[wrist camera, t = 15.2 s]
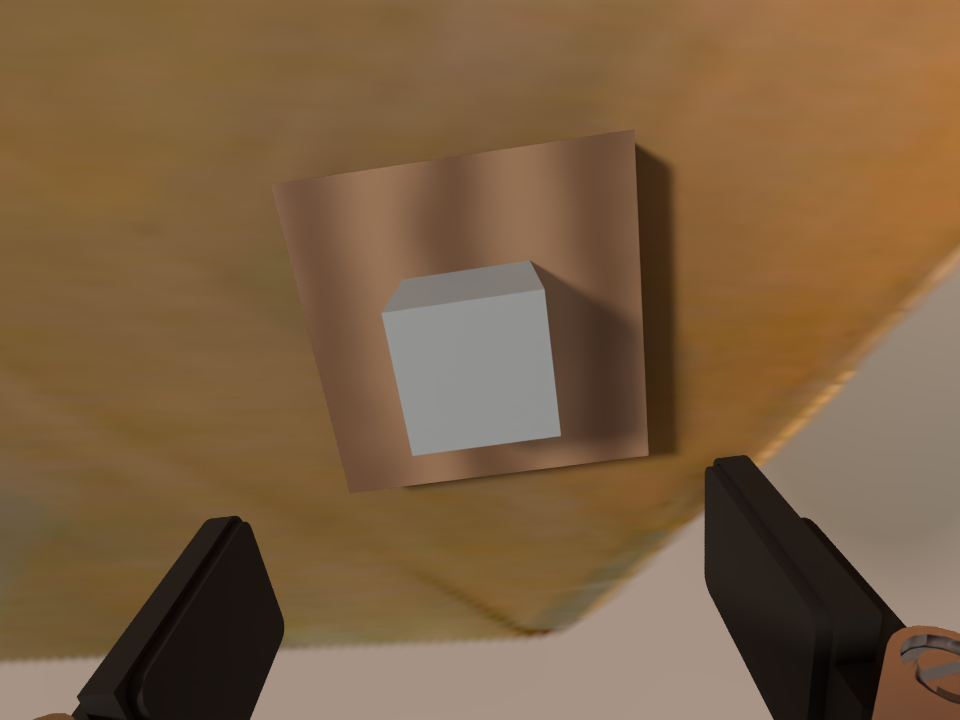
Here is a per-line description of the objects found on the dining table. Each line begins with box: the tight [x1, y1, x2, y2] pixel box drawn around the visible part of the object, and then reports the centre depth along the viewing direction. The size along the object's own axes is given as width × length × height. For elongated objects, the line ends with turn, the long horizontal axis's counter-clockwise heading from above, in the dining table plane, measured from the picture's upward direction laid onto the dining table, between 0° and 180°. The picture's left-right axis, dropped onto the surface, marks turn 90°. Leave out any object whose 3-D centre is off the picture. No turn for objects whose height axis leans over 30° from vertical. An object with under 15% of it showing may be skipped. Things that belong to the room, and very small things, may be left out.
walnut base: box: [271, 130, 649, 493], centre depth 28 cm, size 16×16×3 cm
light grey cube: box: [382, 261, 561, 456], centre depth 24 cm, size 6×6×6 cm
